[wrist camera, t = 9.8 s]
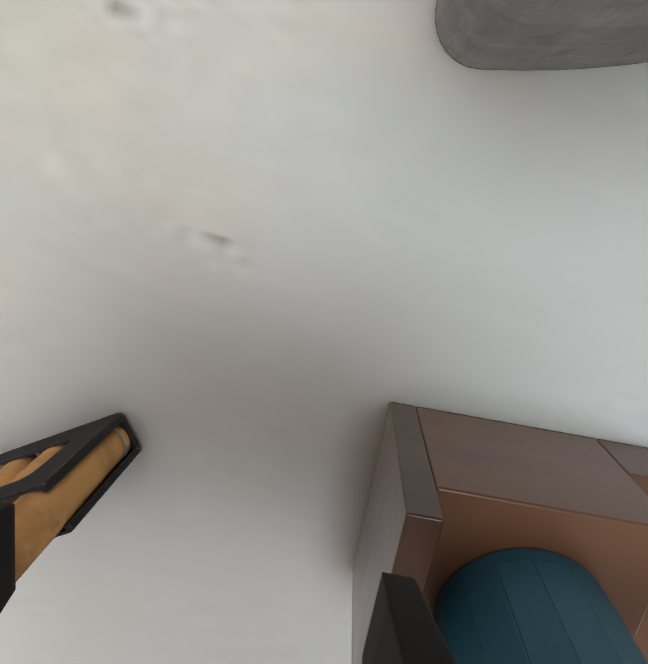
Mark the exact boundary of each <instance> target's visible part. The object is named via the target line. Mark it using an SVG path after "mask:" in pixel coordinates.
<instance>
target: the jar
mask: <svg viewBox="0 0 648 664" xmlns="http://www.w3.org/2000/svg"><path fill="white" fill-rule="evenodd" d="M433 618H434V620H435V622H436V624H437V626H438V628H439V630H440V632H441V634H442V636H443V638H444V640H445V642H446V644H447V646H448V648H449V650H450V652H451V654H452V656H453V658H454V660H455V662H456V664H648V662H647V660H646V658H645V657H644V655H643V653H642V652H641V650H640V648H639V647H638V645H637V643H636V642H635V640H634V638H633V637H632V635H631V633H630V632H629V630H628V628H627V627H626V625H625V623H624V622H623V620H622V618H621V617H620V615H619V614H618V612H617V610H616V609H615V607H614V606H613V604H612V603H611V601H610V600H609V598H608V597H607V595H606V594H605V592H604V590H603V589H602V587H601V585H600V584H599V582H598V581H597V580H596V578H595V577H594V576H593V575H592V574H591V573H590V572H589V571H588V570H587V569H586V568H584V567H583V566H581V565H580V564H578V563H577V562H575V561H573V560H571V559H569V558H568V557H566V556H563V555H560V554H557V553H554V552H550V551H546V550H541V549H533V548H517V549H507V550H502V551H497V552H494V553H491V554H487V555H485V556H482V557H480V558H478V559H476V560H474V561H472V562H470V563H469V564H467V565H465V566H464V567H463V568H461V569H460V570H459V571H457V572H456V573H455V574H454V575H453V576H452V577H451V578H450V579H449V580H448V582H447V583H446V584H445V586H444V587H443V589H442V591H441V592H440V594H439V596H438V599H437V601H436V604H435V608H434V613H433Z"/></svg>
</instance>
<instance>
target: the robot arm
mask: <svg viewBox="0 0 648 664" xmlns="http://www.w3.org/2000/svg"><path fill="white" fill-rule="evenodd" d="M14 591H15V504H12V503H7V502H1V501H0V613H1V611H2V610H3V608H4V607H5V605H6V603H7V602H8V600H9V599H10V597H11V596H12V594H13V592H14ZM362 664H456V662H455V660H454V658H453V656H452V654H451V652H450V650H449V648H448V646H447V644H446V642H445V640H444V638H443V636H442V634H441V632H440V630H439V628H438V626H437V624H436V622H435V620H434V618H433V616H432V614H431V612H430V609H429V607H428V605H427V603H426V601H425V599H424V596H423V594H422V592H421V590H420V587H419V585H418V583H417V582H416V580H415V579H414V578H412V577H407V576H402V575H396V574H391V573H385V572H382V575H381V579H380V583H379V587H378V591H377V595H376V599H375V604H374V608H373V612H372V616H371V620H370V624H369V628H368V632H367V636H366V641H365V645H364V649H363V653H362Z"/></svg>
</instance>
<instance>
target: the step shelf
mask: <svg viewBox="0 0 648 664" xmlns="http://www.w3.org/2000/svg"><path fill="white" fill-rule="evenodd" d="M517 548H533V549H541V550H546V551H550V552H554V553H557V554H560V555H563V556H566V557H568V558H569V559H571V560H573V561H575V562H577V563H578V564H580V565H581V566H583V567H584V568H586V569H587V570H588V571H589V572H590V573H591V574H592V575H593V576H594V577H595V578H596V580H597V581H598V582H599V584H600V585H601V587H602V589H603V590H604V592H605V594H606V595H607V597H608V598H609V600H610V601H611V603H612V604H613V606H614V607H615V609H616V610H617V612H618V614H619V615H620V617H621V618H622V620H623V622H624V623H625V625H626V627H627V628H628V630H629V632H630V633H631V635H632V637H633V638H634V640H635V642H636V643H637V645H638V647H639V648H640V650H641V652H642V653H643V655H644V657H645V658H646V660H647V662H648V448H642V447H637V446H631V445H626V444H620V443H615V442H609V441H603V440H595V439H592V438H586V437H581V436H575V435H569V434H564V433H558V432H553V431H547V430H542V429H536V428H531V427H525V426H519V425H514V424H508V423H503V422H497V421H492V420H486V419H480V418H475V417H469V416H464V415H458V414H453V413H447V412H442V411H436V410H430V409H425V408H419V407H416V408H415V407H414V406H410V405H404V404H399V403H393V402H390V404H389V409H388V413H387V418H386V422H385V427H384V431H383V436H382V440H381V445H380V449H379V454H378V458H377V463H376V467H375V472H374V476H373V481H372V485H371V490H370V494H369V499H368V503H367V508H366V512H365V517H364V521H363V526H362V530H361V535H360V539H359V544H358V548H357V553H356V557H355V562H354V566H353V591H352V664H362V653H363V649H364V645H365V641H366V636H367V632H368V628H369V624H370V620H371V616H372V612H373V608H374V604H375V599H376V595H377V591H378V587H379V583H380V579H381V575H382V572H385V573H391V574H396V575H402V576H407V577H412V578H414V579H415V580H416V582H417V583H418V585H419V587H420V590H421V592H422V594H423V596H424V599H425V601H426V603H427V605H428V607H429V609H430V612H431V614H432V616H433V613H434V608H435V604H436V601H437V599H438V596H439V594H440V592H441V591H442V589H443V587H444V586H445V584H446V583H447V582H448V580H449V579H450V578H451V577H452V576H453V575H454V574H455V573H456V572H457V571H459V570H460V569H461V568H463V567H464V566H465V565H467V564H469V563H470V562H472V561H474V560H476V559H478V558H480V557H482V556H485V555H487V554H491V553H494V552H497V551H502V550H507V549H517Z"/></svg>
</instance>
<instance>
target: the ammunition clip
mask: <svg viewBox="0 0 648 664" xmlns="http://www.w3.org/2000/svg"><path fill="white" fill-rule="evenodd" d="M140 451H141V449H140V447H139V445H138V443H137V442H136V440H135V438H134V436H133V434H132V432H131V430H130V428H129V426H128V424H127V423H126V421H125V419H124V417H123V415H122V414H119V413H116V414H114V415H111V416H108V417H105V418H102V419H99V420H97V421H94V422H91V423H88V424H85V425H82V426H80V427H77V428H74V429H71V430H68V431H65V432H63V433H60V434H57V435H54V436H51V437H48V438H45V439H43V440H40V441H37V442H34V443H31V444H28V445H26V446H23V447H20V448H17V449H14V450H11V451H9V452H6V453H3V454H0V501H1V502H7V503H12V504H15V582H16V581H17V580H18V579H19V578H20V577H21V576H22V574H23V573H24V572H25V571H26V570H27V569H28V567H29V566H30V565H31V564H32V563H33V562H34V561H35V559H36V558H37V557H38V556H39V555H40V554H41V553H42V551H43V550H44V549H45V548H46V547H47V546H48V544H49V543H50V542H51V541H52V540H53V539H54V538H55V537H58V536H61V535H64V534H67V533H70V532H72V531H73V530H74V529H75V527H76V526H77V525H78V524H79V523H80V521H81V520H82V519H83V518H84V517H85V516H86V514H87V513H88V512H89V511H90V510H91V509H92V507H93V506H94V505H95V504H96V503H97V502H98V500H99V499H100V498H101V497H102V496H103V495H104V493H105V492H106V491H107V490H108V489H109V487H110V486H111V485H112V484H113V483H114V482H115V480H116V479H117V478H118V477H119V476H120V475H121V473H122V472H123V471H124V470H125V469H126V468H127V466H128V465H129V464H130V463H131V462H132V461H133V459H134V458H135V457H136V456H137V455H138V453H139V452H140Z"/></svg>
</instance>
